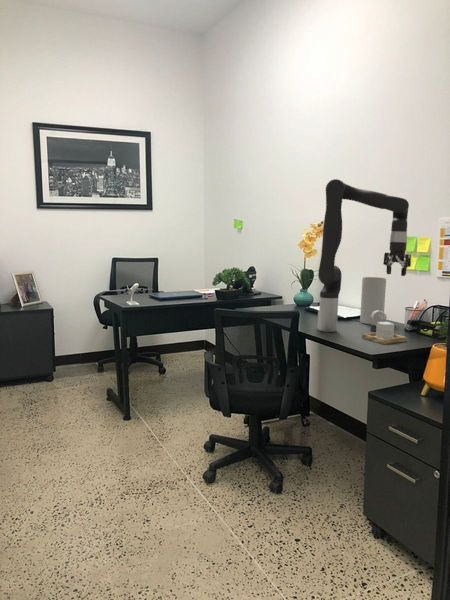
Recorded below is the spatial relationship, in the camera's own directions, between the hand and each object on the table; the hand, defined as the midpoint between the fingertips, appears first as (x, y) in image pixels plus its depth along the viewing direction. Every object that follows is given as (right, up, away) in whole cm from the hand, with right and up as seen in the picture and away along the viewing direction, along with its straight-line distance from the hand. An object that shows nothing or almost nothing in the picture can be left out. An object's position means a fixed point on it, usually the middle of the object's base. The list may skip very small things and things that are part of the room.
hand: (395, 274), depth 232 cm
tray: (-7, -31, -4) cm, 32 cm away
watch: (-5, -29, +14) cm, 32 cm away
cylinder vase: (-1, -25, +37) cm, 44 cm away
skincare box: (-7, -30, -4) cm, 31 cm away
